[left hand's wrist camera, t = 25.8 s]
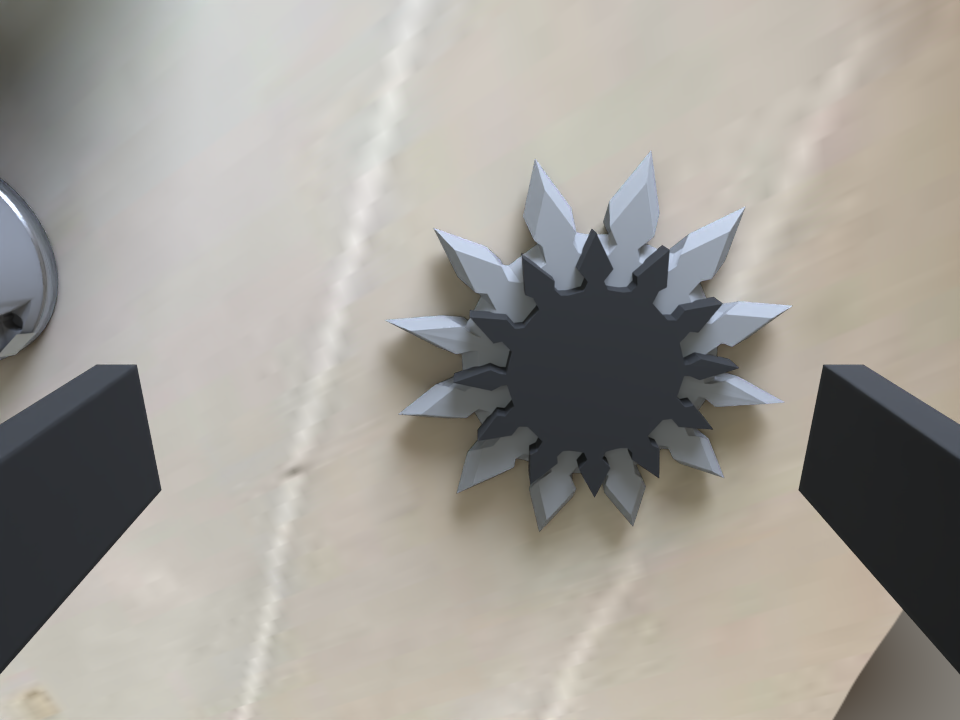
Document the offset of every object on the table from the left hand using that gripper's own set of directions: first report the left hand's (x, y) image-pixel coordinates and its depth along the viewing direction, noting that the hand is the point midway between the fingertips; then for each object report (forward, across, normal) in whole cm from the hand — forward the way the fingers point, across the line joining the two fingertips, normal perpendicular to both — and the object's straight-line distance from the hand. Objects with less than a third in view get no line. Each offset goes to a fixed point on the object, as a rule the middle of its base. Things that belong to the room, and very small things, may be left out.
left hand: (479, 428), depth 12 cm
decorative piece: (+34, +8, -11) cm, 36 cm away
